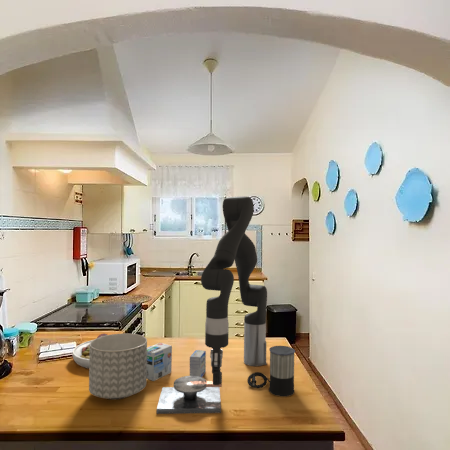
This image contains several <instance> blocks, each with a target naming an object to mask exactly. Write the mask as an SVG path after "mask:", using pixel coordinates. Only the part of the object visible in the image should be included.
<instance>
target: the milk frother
mask: <svg viewBox="0 0 450 450" xmlns="http://www.w3.org/2000/svg"><path fill="white" fill-rule="evenodd" d="M295 354H296V350H295V349H294V348H292V347H290V346H288V345H274V346H271V347H270V348H269V378H268V377H267V376H266V374H264V373H262V372H261V371H256V372H253V373H251V374H250V375H248V376H247V380H246V381H247V385H249V387H250V388H255V389H262V388H265V387H266V386H267V383H268V382H269V387H268V392H269V393H270V394H272V395H274V396H277V397H285V398H287V397H291V396H293V395H295V391H296V390H295ZM256 377H259V378H262V379H263V382H262V383H260V384H257V378H256Z"/></svg>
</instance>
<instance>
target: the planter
mask: <svg viewBox="0 0 450 450" xmlns="http://www.w3.org/2000/svg"><path fill="white" fill-rule="evenodd" d="M147 339H148V338H147V337H145V336H144V335H141V334H137V333H127V332H126V333H112V334H107V335H106V336H102V337H99V338H97V337H96V338H94V339H92V340H93V341H92V342H91V343H90V354H89V368H88V370H89V371H88V391H89V393H90V394H91V395H92V396H95V397H97V398H100V399H107V400H113V401H114V400H123V399H126V398H128V397H131V396H133V395H136V394H137V393H138V394H139V393H140V392H141V391H142V390H144V389H145V387H146V386H147V381H148V379H147V348H148V340H147Z"/></svg>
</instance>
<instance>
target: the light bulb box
mask: <svg viewBox="0 0 450 450" xmlns="http://www.w3.org/2000/svg"><path fill="white" fill-rule="evenodd" d="M172 354H173V347H172V345H170V344H167V343H163V342H159V343H158V342H157V343H156V344H154V345H150V346H147V380H149V381H152V382H155V381H157V380H159V379H160V378H163V377H165V376H167V375H169V374H171V373H172V365H173V364H172V362H173V360H172V359H173V358H172V357H173V355H172Z"/></svg>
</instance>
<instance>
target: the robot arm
mask: <svg viewBox="0 0 450 450" xmlns="http://www.w3.org/2000/svg"><path fill="white" fill-rule="evenodd" d="M254 206H255V205H254V201H253V198H252V197H250V196H243V195H242V196H241V195H240V196H226V197H225V198H224V199H223V201H222V213H223V214H222V215H223V219H224V221H225V225H226V227H227V232H225V233H224V235H223V236H222V237H221V238H220V239H219V241H218V242H217V246H216V249H215V252H214V255H213V257H212V258H211V260H210V261H209V262H208V264H207V265H206V266H205V268H204V269H203V271H202V273H201V276H200V283H201V286H202V288H203V289H205V290H207V291H217V292H218V291H220V292H219V295H218V296H213V297H209V298H208V299H207V300H206V304H205V306H206V307H205V311H206V312H205V314H206V315H205V326H204V327H205V329H204V330H205V332H204V337H205V339H204V344H205V346H206V347H208V348H211V349H210V353H209V354H210V355H209V357H210V366H211V374H212V381H213V385H219V384H220V372H222V371H221V368H222V364H223V358H224V357H223V353H224V349H222V348H226V347H227V346H229V332H230V331H229V329H230V327H229V302H230V296H231V292H232V290H233V286H234V282H235V278H234V274H233V273H234V272H232V271H231V269H228V268H231V267H232V266H233V264H234V263H235V268H236V272H237V276H238V284H239V286H238V287H239V293H240V294H239V295H240V300H241V303H242V305H243V306H247V307H253V308H256V311H253V312H249V313H247V314H245V315H244V317H243V318H244V322H243V331H244V332H243V363H244V364H245V365H247V366H250V367H261V366H265V365H267V340H266V337H267V336H266V335H267V334H266V331H267V329H266V328H267V327H266V325H267V322H266V321H267V303H268V289H267V287H266V286H265V285H261V284H252V283H251V284H250V282H249V278H250V276H251V274H252V273H253V271H254V269H255V268H256V266H257V264H258V255H257V254H258V253H257V249H256V245H255V244H254V242H253V241H252V240H251V238H250V237H249V236H248V235H247V234H246V232H247V231H246V230H248V227H249V225H250V223H251V221H252V218H253V216H254V209H255V207H254Z"/></svg>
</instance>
